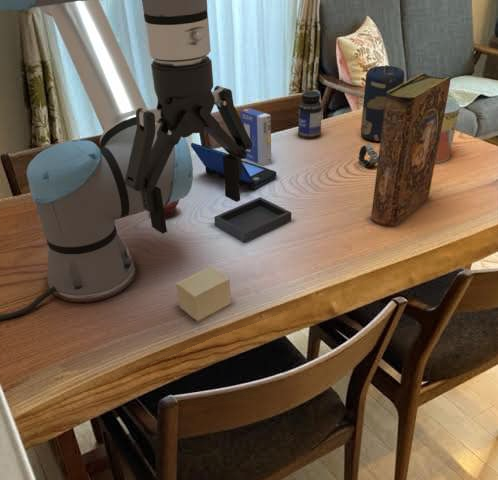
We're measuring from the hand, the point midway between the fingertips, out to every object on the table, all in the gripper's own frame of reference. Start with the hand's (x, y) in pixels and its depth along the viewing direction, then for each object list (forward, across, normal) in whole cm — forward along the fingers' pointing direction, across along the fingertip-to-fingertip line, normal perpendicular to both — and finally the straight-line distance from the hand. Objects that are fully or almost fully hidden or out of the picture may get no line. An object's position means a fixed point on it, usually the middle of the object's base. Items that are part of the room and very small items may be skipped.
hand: (197, 213), depth 80 cm
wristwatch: (+17, +63, +16) cm, 67 cm away
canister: (+17, +79, +26) cm, 85 cm away
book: (+17, +50, -2) cm, 52 cm away
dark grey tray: (+17, +24, +15) cm, 33 cm away
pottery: (+17, +14, +38) cm, 44 cm away
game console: (+17, +35, +34) cm, 52 cm away
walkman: (+17, +46, +39) cm, 62 cm away
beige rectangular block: (+17, 0, 0) cm, 17 cm away
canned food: (+17, +78, +10) cm, 80 cm away
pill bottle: (+17, +67, +40) cm, 80 cm away
